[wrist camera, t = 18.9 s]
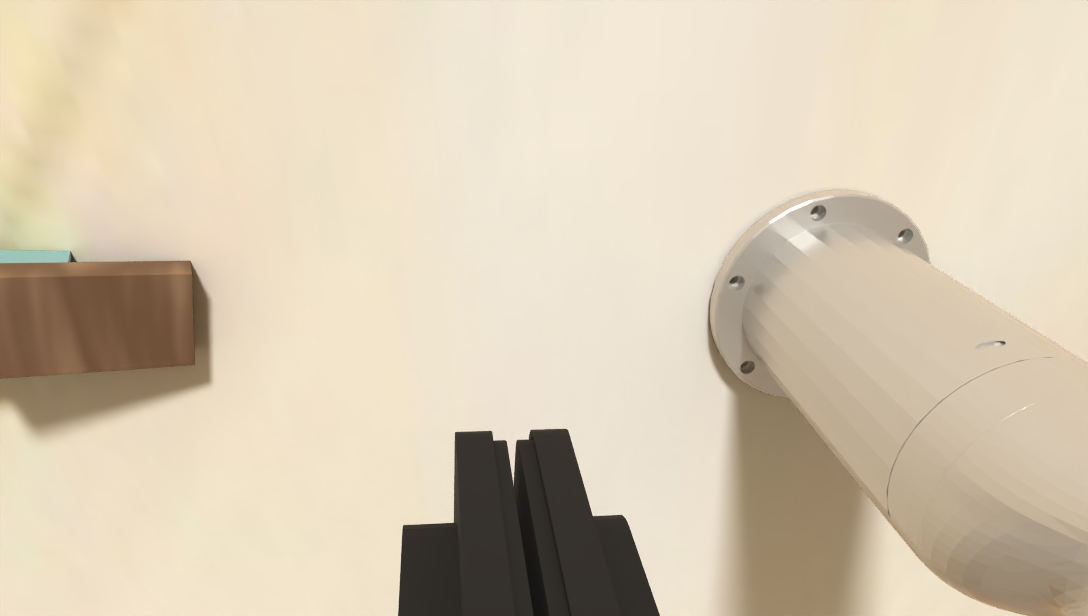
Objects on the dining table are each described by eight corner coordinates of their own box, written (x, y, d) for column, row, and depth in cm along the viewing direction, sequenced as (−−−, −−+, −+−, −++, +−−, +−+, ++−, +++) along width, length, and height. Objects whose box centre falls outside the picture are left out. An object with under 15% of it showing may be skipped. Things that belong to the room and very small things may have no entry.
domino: (192, 274, 35) (-76, 279, 30) (194, 364, 37) (-56, 382, 33) (190, 260, 36) (-67, 263, 32) (193, 349, 38) (-48, 364, 34)
